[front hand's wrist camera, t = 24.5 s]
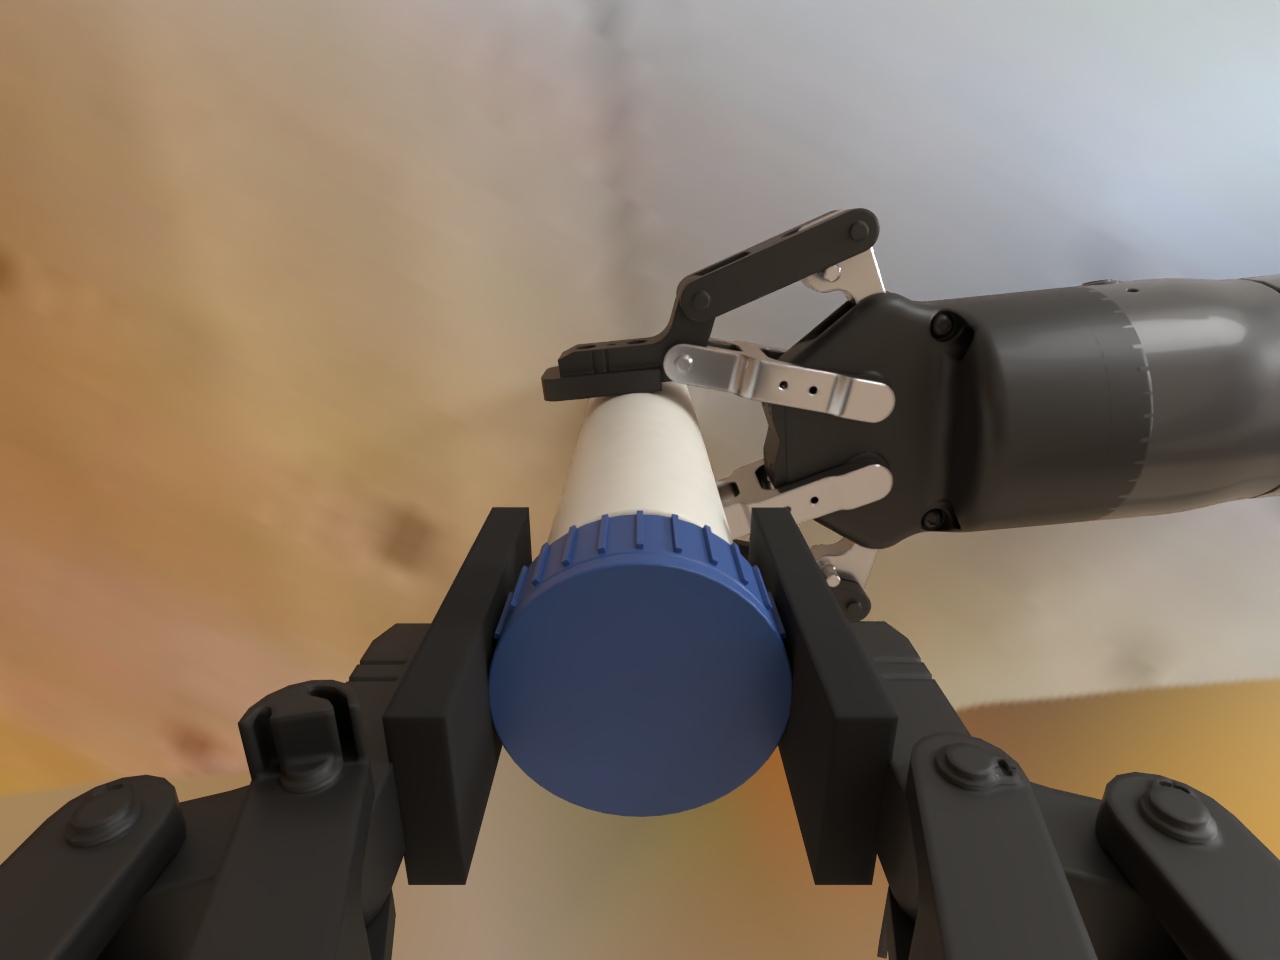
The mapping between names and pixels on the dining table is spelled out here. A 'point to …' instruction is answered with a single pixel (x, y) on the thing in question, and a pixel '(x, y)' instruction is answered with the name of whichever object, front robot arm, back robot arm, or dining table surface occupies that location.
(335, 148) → the dining table surface
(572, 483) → the white cylinder
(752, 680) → the lid
